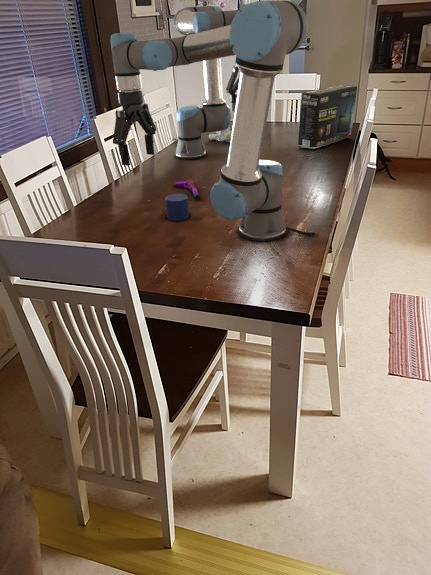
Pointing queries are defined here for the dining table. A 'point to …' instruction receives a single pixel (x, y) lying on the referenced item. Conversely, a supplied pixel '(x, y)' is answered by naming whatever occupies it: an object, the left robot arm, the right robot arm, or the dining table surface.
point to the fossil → (222, 135)
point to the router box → (326, 115)
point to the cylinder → (177, 207)
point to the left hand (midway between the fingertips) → (249, 109)
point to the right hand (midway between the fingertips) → (138, 159)
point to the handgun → (189, 185)
